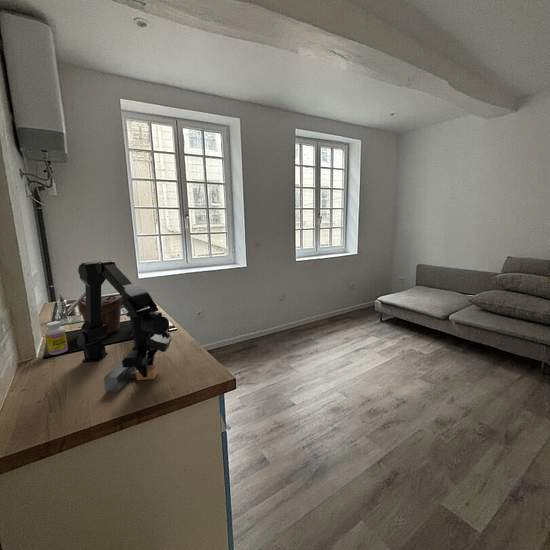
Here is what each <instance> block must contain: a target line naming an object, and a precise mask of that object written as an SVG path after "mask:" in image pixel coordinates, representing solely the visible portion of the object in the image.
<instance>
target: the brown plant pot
mask: <svg viewBox="0 0 550 550" xmlns="http://www.w3.org/2000/svg"><path fill="white" fill-rule="evenodd" d="M122 306H124V305H123V304H122V302H121V295H120V296H116V295H110V296H108V297H106V298H101V320H102V321H103V323H104V324H105V325H107V335H109V334H112V333H115V332H117V331H118V330H120V325H121V315H122V313H121V311H122ZM78 310H79V313H80V315H81V316H82V318H83V321H84V322H85V321H86V297H84V298H80V299H79V300H78Z"/></svg>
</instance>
